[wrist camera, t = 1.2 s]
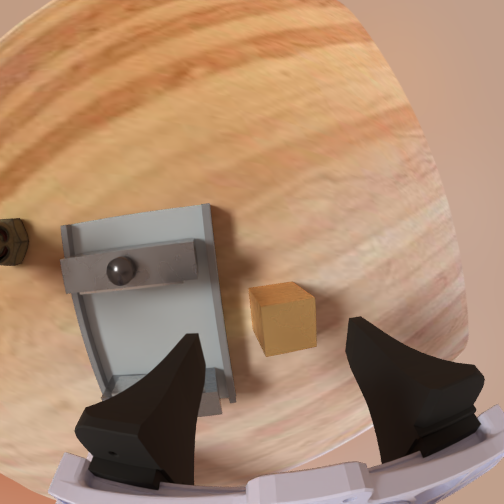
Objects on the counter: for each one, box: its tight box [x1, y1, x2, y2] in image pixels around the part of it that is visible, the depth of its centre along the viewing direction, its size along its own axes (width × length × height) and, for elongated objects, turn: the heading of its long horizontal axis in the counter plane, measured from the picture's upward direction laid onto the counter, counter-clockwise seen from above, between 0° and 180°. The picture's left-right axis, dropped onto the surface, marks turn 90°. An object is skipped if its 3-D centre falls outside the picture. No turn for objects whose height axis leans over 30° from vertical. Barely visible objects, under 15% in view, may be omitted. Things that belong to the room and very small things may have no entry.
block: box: [248, 282, 317, 357], centre depth 22 cm, size 4×4×6 cm
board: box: [61, 203, 236, 403], centre depth 22 cm, size 18×13×2 cm
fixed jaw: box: [101, 367, 222, 417], centre depth 21 cm, size 3×10×4 cm, turn 96°
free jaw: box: [60, 237, 199, 295], centre depth 19 cm, size 3×10×5 cm, turn 95°
